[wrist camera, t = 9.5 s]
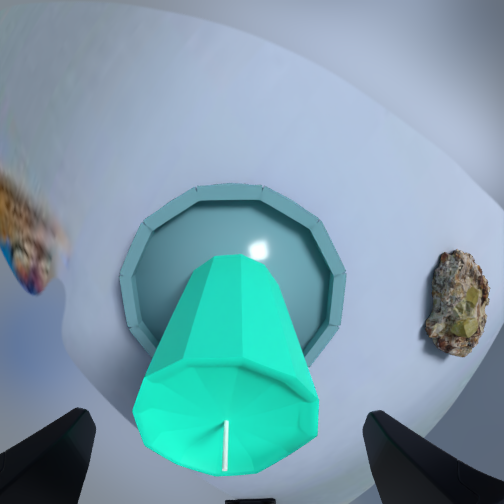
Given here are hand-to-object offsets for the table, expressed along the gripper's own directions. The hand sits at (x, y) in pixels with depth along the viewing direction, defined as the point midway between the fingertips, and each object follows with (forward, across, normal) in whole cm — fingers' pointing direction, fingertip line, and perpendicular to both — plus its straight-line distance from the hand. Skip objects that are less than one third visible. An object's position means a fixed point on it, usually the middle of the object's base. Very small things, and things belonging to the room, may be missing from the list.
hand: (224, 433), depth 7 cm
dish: (+12, 0, 0) cm, 12 cm away
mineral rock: (+12, -19, +2) cm, 23 cm away
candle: (+11, 0, 0) cm, 11 cm away
